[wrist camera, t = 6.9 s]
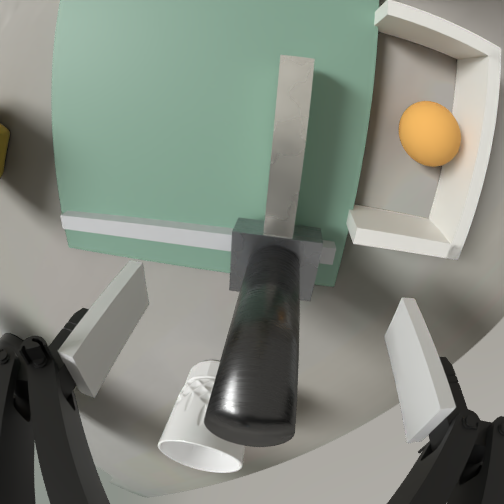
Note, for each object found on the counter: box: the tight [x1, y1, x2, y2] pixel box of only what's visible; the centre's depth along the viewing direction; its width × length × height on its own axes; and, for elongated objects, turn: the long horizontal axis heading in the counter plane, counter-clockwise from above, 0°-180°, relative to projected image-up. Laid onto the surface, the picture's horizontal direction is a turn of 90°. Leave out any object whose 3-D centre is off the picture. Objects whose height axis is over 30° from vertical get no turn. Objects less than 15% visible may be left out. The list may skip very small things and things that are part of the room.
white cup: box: [158, 360, 245, 473], centre depth 26 cm, size 8×8×10 cm
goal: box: [346, 0, 501, 260], centre depth 14 cm, size 8×14×4 cm, turn 176°
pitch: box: [52, 0, 379, 287], centre depth 16 cm, size 22×24×3 cm
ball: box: [399, 101, 461, 167], centre depth 14 cm, size 4×4×4 cm
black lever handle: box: [204, 55, 323, 447], centre depth 11 cm, size 5×14×12 cm, turn 176°
